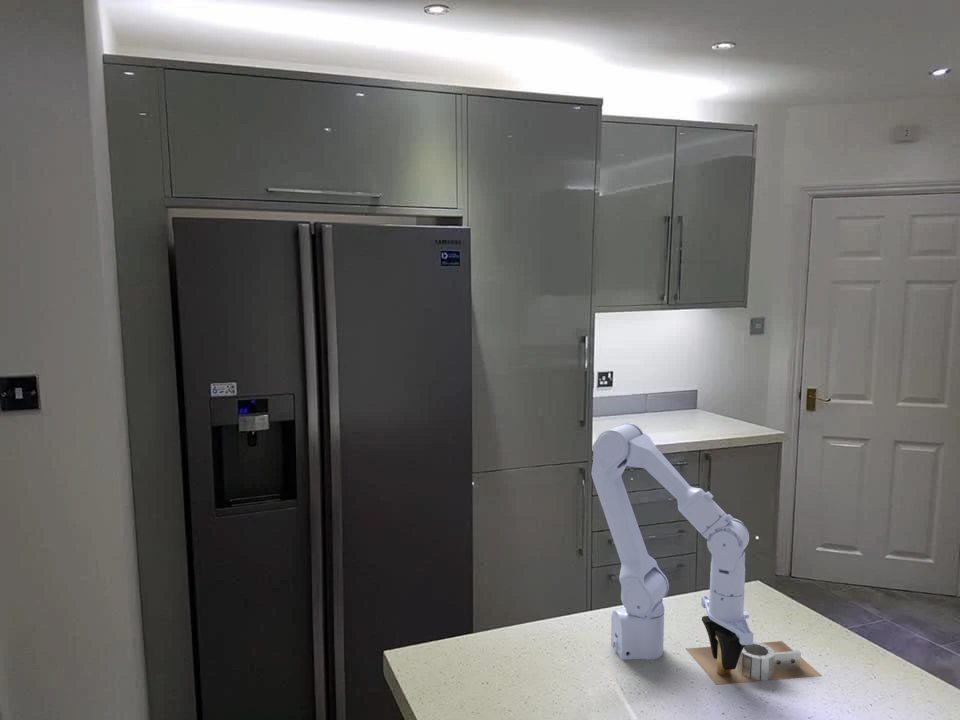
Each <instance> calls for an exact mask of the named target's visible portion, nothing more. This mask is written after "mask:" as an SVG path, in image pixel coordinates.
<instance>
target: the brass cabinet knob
mask: <svg viewBox="0 0 960 720" xmlns="http://www.w3.org/2000/svg"><path fill="white" fill-rule="evenodd" d="M716 639H717V640H718V637H717V635H716ZM717 674H718V675H720V676H723V677H729V676H731V670H725V669H724V668H723V666H722V659H721V648H720V643H719V640H718V650H717Z"/></svg>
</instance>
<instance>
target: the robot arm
mask: <svg viewBox="0 0 960 720" xmlns="http://www.w3.org/2000/svg"><path fill="white" fill-rule="evenodd" d="M591 449H592V452H593V459H592V465H591V466H592V467H591V474H590V475H591V478H592V481H593V484H594V487H595V490H596V493H597V496H598V499H599V502H600V505H601V508H602V511H603V514H604V517H605V519H606V523H607V525H608V529H609V531H610V534H611V537H612V540H613V543H614V546H615V549H616V552H617V554H618V558H619V560H620V564H621V565H620V569H619V570H620V571H619V577H618V579H619V580H618V581H619V583H620V587H621V589H620V601H621V603H622V605H623V606H622V607H621V608H619V609H615V610H613V611H612V613H611V629H610V633H611V634H610V636H611V637H610V638H611V639H610V644H611V647H612V648H613V649H614V650H615V652H616V654H617V655H618V656H619V658H620V660H623V661H626V660H637V659H638V660H656V659H659V658H660V657H661V656H662V655H664V641H665V639H664V637H665V635H664V634H665V632H664V631H665V605H664V603H663V599H664V598H665V597H666V596H667V594H668V592H669V589H670V584H669V583H670V582H669V580H668V578H667V576H666V574H664V572H663V571H662V570H661V569H660V566H658V563H657V560H656V559H655V558H654V557H652V556H651V555H649V553H648V550H647V547H646V544H645V542H644V539H643V536H642V532H641V530H640V527H639V525H638V520H637V518H636V515H635V513H634V510H633V507H632V504H631V500H630V499H629V495H628V492H627V489H626V486H625V484H624V480H623V477H622V475H623V473H624V471H625V469H626V467H631V468H641V469H644V470H646V471H647V473H648V474H650V475H651V477H653V479H655V480H656V481H657V482H658V483H659V484H660V485H661V486H663V488H664V489H665V490H666V491H667V492H669V493H670V494H671V496H672V497H674V498H675V500H676V501H677V502H676V503H677V511H679V512H680V514H681V515H682V516H683V517H684V518H685V519H686V520H687V521H688V522H689V523H690V525H692V526H693V527H694V528H695V529H696V530H697V531H698V532H699V534H701V536H702V537H703V538H705V539H706V540H707V541H706V545H707V546H706V547H707V550H708V551H709V552H710V554H711V561H710V575H709V576H710V577H709V579H710V580H709V595H701V607H702V608H705V609H706V614H707V615H703V616H701V621H702V623H703V625H704V628H705V630H706V632H707V636H708V639H709V640H708V641H709V644H710V647H711V650H712V654H713V657H714V658H715V659H717V650H718V640H719V643H720V648H721V659H722V666H723V668H724V669H725V670H731V669H736V666H737V663H738V660H739V657H740V654H741V652H742V650H743V648H744V647H745V645H751V644H753V641H754V633H753V632H752V630H751V629H750V627H749V625H748V622H747V619H749V618H750V614H749V612H747V611H746V610H744V607H745V606H744V605H745V585H746V584H745V583H746V565H745V564H746V551H744V550H745V549H746V548H747V547H748V545H749V542H750V533H749V530H748V528H747V527H746V526H745V525H744V523H743V521H741V520H739V519H737V518H734V517H733V516H732V515H731V514H729V513H728V514H727V513H726V512H725V511H724V510H723V509H722V508H721V507H720V506H719V505H718V504H717V502H715V501H714V500H713V498H714V495H713V494H712V493H711V492H710V491H709V490H708V491H707V492H706V491H705V490H704V489H703V488H700V487H694V486H691V485H690V483H688V482H687V481H686V480H685V478H684V477H683V476H682V475H681V474H680V473H679V471H678V470H677V469H676V468H675V467H674V466H673V465H672V464H671V462H669V460H668V459H667V457H665V455H664V454H663V453H662V452H661V451H660V450H659V449H658V447H657V446H656V445H655V443H654V442H653V440H652V438H651V437H650V436H649V435H648V434H646V433H644V432H643V430H642V429H641V428H640V426H638V425H637V424H635V423H632V422H624V423H621V424H620V425H618V426H616V427H614V428H611V429H608V430H607V429H606V430H604V431H603V432H601V433H600V434H599V436H598V437H597V438H596V440H595V441H594V443H593V445H592V448H591ZM716 635H717V637H718V640H717V639H716ZM627 653H628V654H627Z"/></svg>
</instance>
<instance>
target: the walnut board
mask: <svg viewBox="0 0 960 720" xmlns="http://www.w3.org/2000/svg"><path fill="white" fill-rule="evenodd" d="M762 643H763V644H765V645H767V646H768V647H770V648H771V649H773V650H774V653H776V652H789V651H794V650H793V649H792V648H791V647H790V646H789V645H787V643H785V642H784V641H783V640H779V641H768V642H767V641H765V642H762ZM685 650H686V651H687V652H688V654H689V655H690V657H692V658H693V659H694V661H695V662H696V663H697V665H699V666H700V667H701V669H702V670H703V671H704V673H706V675H708V677H709V678H710V680H712V682H713V683H714V684H715V685H716V686H719V685H729V684H731V685H732V684H742V683H752V682H753V683H755V682H762V681H761V680H760V681H759V680H754V679H751V678H748V677H746V676H743V674H741V673H740V672H739V671H738V670H737V666H736V669H731V676H729V677H723V676H720V675H718V674H717V659H715V658H714V657H713V654H712V650H711V646H701V647H690V648H685ZM821 676H822V674H821V673H820V672H818V670H816V669H815V668H814V667H813V666H811V664H810V663H808V662H807V661H806V660H805V659H803V657H801V662H800V668H796V669H785V670H774V677H773V678H771V679H770V680H769V681H775V680H778V681H779V680H786V679H787V680H789V679H799V678H801V679H802V678H811V677H821ZM766 681H767V682H768V680H764V681H763V682H766Z"/></svg>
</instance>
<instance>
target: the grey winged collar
mask: <svg viewBox="0 0 960 720" xmlns="http://www.w3.org/2000/svg"><path fill="white" fill-rule="evenodd" d="M763 643H764V642H759V641H754V640H753V644H751V645H745V647H744V648H743V650H742V652H741V654H740V657H739V660H738V663H737V670H738V671H739V672H740V673H741V674H743V676H746V677H748V678H751V679H754V680H759V681H758V682H765V681H764V680H767V681H771V680H770V679H771V678H773V677H774V670H785V669H796V668H800V662H801V658H802V657H801V656H802V652H801V651H800V650H793V651H789V652H776V653H774V650H773V649H771V648H770V647H768V646H767V645H765V644H763ZM760 680H761V681H760Z"/></svg>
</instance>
